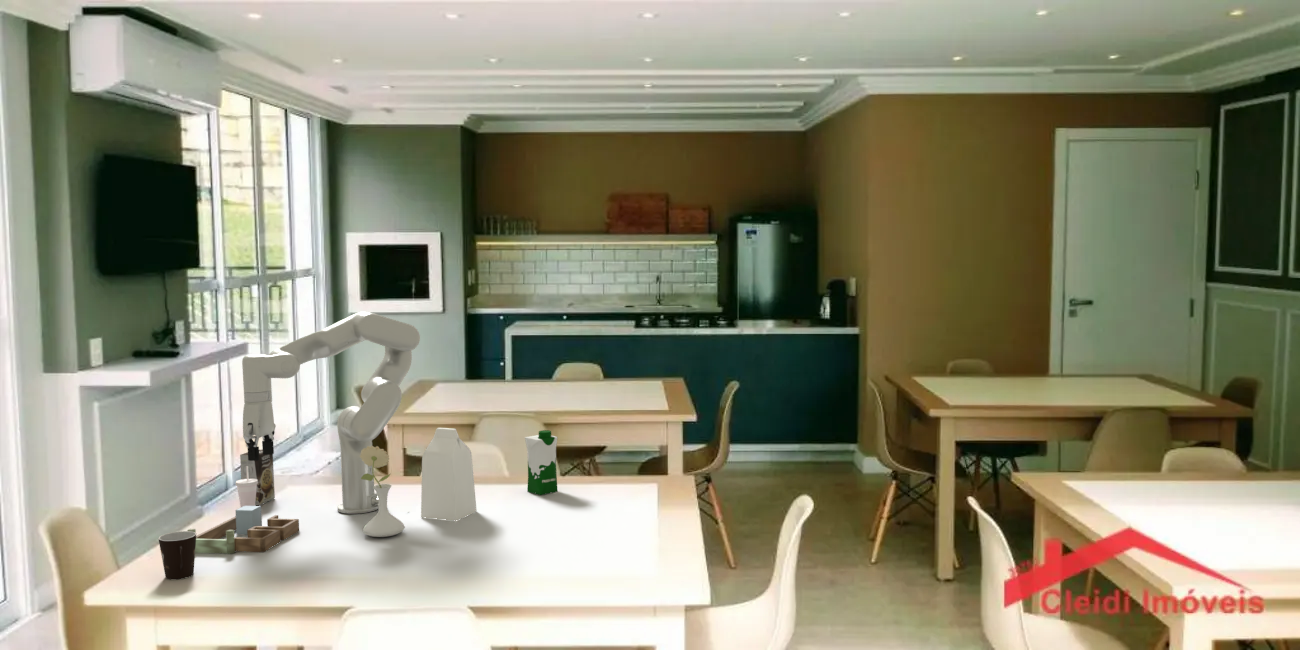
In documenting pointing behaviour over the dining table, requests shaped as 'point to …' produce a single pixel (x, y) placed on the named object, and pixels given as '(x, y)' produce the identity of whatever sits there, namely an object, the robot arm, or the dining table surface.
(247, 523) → the block
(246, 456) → the coffee box
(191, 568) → the coffee mug
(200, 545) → the brown open tray piece
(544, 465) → the milk carton
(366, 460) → the flower in vase
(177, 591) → the dining table surface
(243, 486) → the smoothie
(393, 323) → the robot arm
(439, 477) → the milk
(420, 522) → the dining table surface
